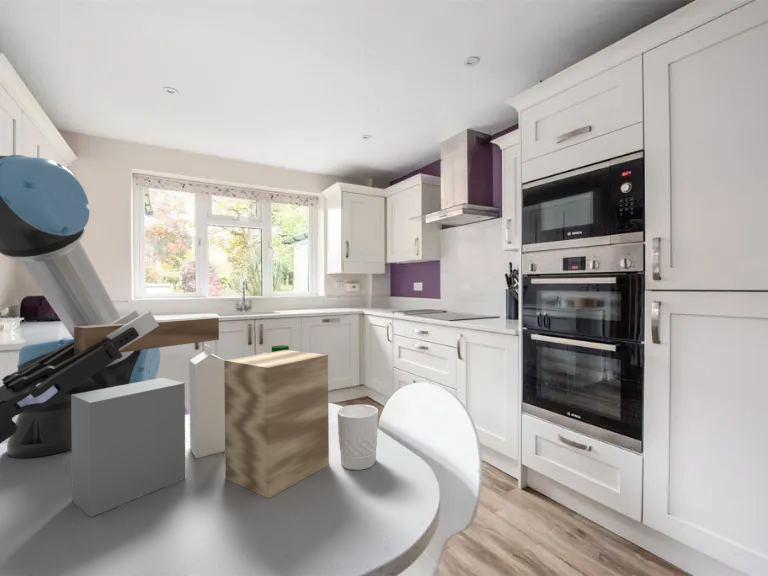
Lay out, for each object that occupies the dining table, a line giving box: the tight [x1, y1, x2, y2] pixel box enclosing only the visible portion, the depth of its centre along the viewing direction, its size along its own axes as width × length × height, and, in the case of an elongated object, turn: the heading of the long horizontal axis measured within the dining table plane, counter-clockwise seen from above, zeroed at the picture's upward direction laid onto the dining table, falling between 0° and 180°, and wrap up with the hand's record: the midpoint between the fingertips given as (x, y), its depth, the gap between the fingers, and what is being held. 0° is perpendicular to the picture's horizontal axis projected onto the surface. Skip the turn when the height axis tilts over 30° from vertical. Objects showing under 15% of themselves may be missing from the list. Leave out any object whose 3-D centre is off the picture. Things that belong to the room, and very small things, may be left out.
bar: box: [74, 316, 220, 355], centre depth 61 cm, size 4×20×4 cm, turn 146°
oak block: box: [223, 349, 330, 499], centre depth 70 cm, size 12×14×21 cm
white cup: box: [336, 404, 379, 471], centre depth 73 cm, size 8×8×10 cm
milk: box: [189, 343, 225, 459], centre depth 79 cm, size 6×6×22 cm
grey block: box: [71, 377, 186, 518], centre depth 64 cm, size 8×14×17 cm, turn 145°
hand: (145, 318), depth 60 cm, fingers closed on bar, 4 cm apart
